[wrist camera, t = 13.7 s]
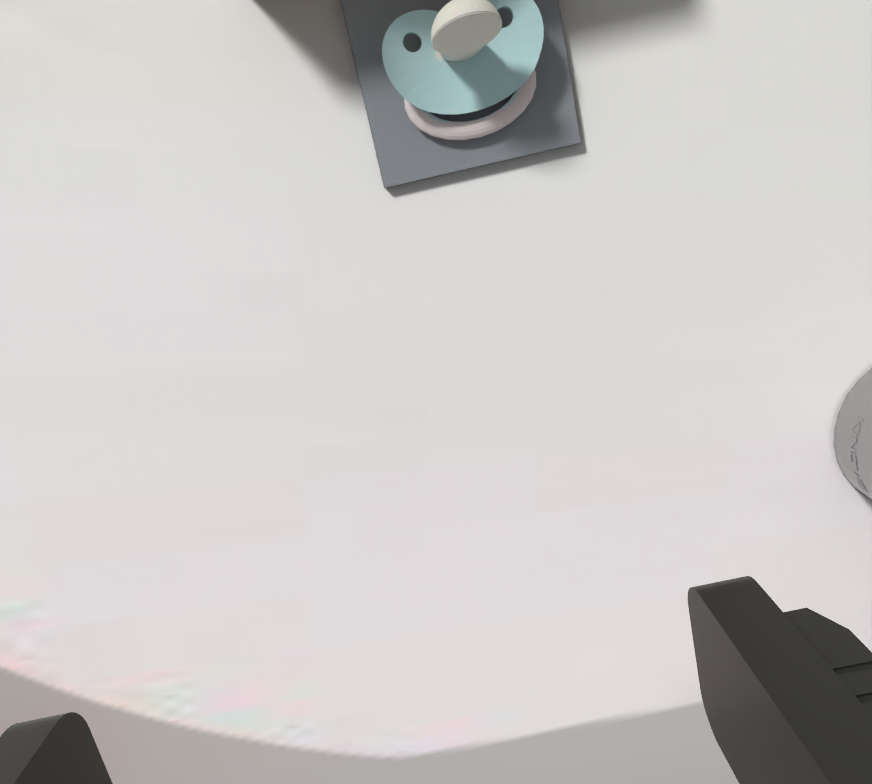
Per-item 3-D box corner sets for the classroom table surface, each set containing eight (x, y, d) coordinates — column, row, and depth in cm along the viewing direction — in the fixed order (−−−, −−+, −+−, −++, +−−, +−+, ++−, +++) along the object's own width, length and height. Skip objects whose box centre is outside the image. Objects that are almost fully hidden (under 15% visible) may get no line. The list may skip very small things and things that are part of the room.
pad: (542, -78, 34) (545, -83, 33) (578, 143, 36) (580, 142, 36) (335, -27, 34) (333, -31, 33) (384, 187, 37) (384, 187, 36)
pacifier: (551, 118, 35) (525, -14, 34) (578, 107, 29) (549, -54, 28) (407, 157, 36) (374, 27, 34) (405, 154, 30) (366, -4, 28)
